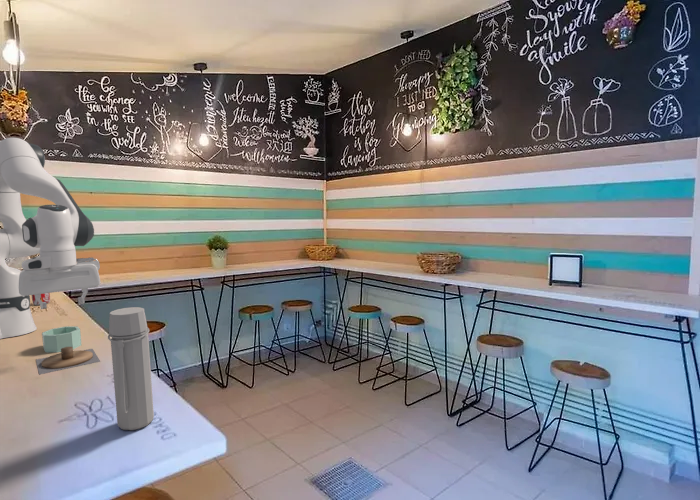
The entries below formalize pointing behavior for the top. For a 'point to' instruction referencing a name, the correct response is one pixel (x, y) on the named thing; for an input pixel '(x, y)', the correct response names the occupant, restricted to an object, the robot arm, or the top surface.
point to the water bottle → (131, 367)
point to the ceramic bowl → (61, 338)
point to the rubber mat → (46, 370)
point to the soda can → (44, 298)
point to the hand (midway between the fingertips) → (63, 305)
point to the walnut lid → (67, 358)
